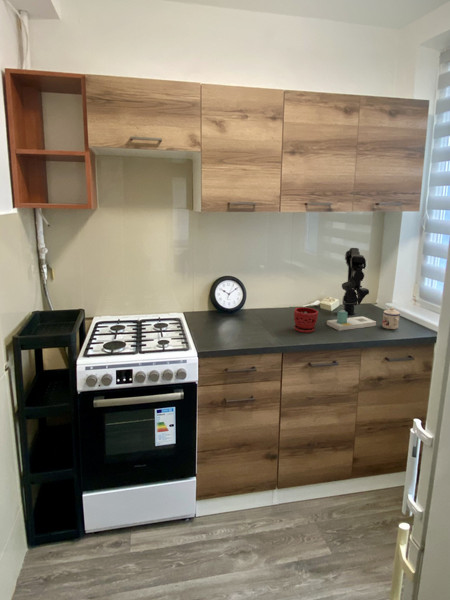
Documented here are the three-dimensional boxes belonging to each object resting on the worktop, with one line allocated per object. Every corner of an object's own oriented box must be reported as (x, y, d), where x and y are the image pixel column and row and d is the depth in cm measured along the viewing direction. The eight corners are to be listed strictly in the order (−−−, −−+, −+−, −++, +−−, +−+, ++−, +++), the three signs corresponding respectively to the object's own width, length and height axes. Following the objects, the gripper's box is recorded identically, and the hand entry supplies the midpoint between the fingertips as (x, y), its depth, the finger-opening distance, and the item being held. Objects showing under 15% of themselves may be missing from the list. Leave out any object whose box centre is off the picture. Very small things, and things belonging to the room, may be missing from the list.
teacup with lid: (378, 324, 249) (380, 306, 246) (393, 324, 250) (395, 305, 247) (389, 331, 237) (391, 311, 234) (404, 330, 238) (406, 311, 236)
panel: (326, 324, 248) (327, 320, 248) (362, 320, 258) (362, 316, 257) (339, 330, 238) (339, 326, 237) (375, 325, 247) (376, 321, 246)
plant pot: (298, 334, 230) (299, 313, 227) (290, 327, 243) (291, 307, 240) (320, 333, 233) (322, 312, 230) (311, 326, 245) (312, 306, 242)
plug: (336, 325, 246) (337, 309, 244) (342, 325, 248) (343, 309, 245) (340, 327, 243) (342, 311, 240) (346, 327, 244) (347, 311, 242)
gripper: (335, 274, 252) (333, 299, 256) (354, 281, 235) (352, 308, 239) (350, 273, 256) (348, 298, 260) (370, 280, 239) (368, 306, 243)
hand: (353, 302), depth 250 cm, fingers open, 9 cm apart
